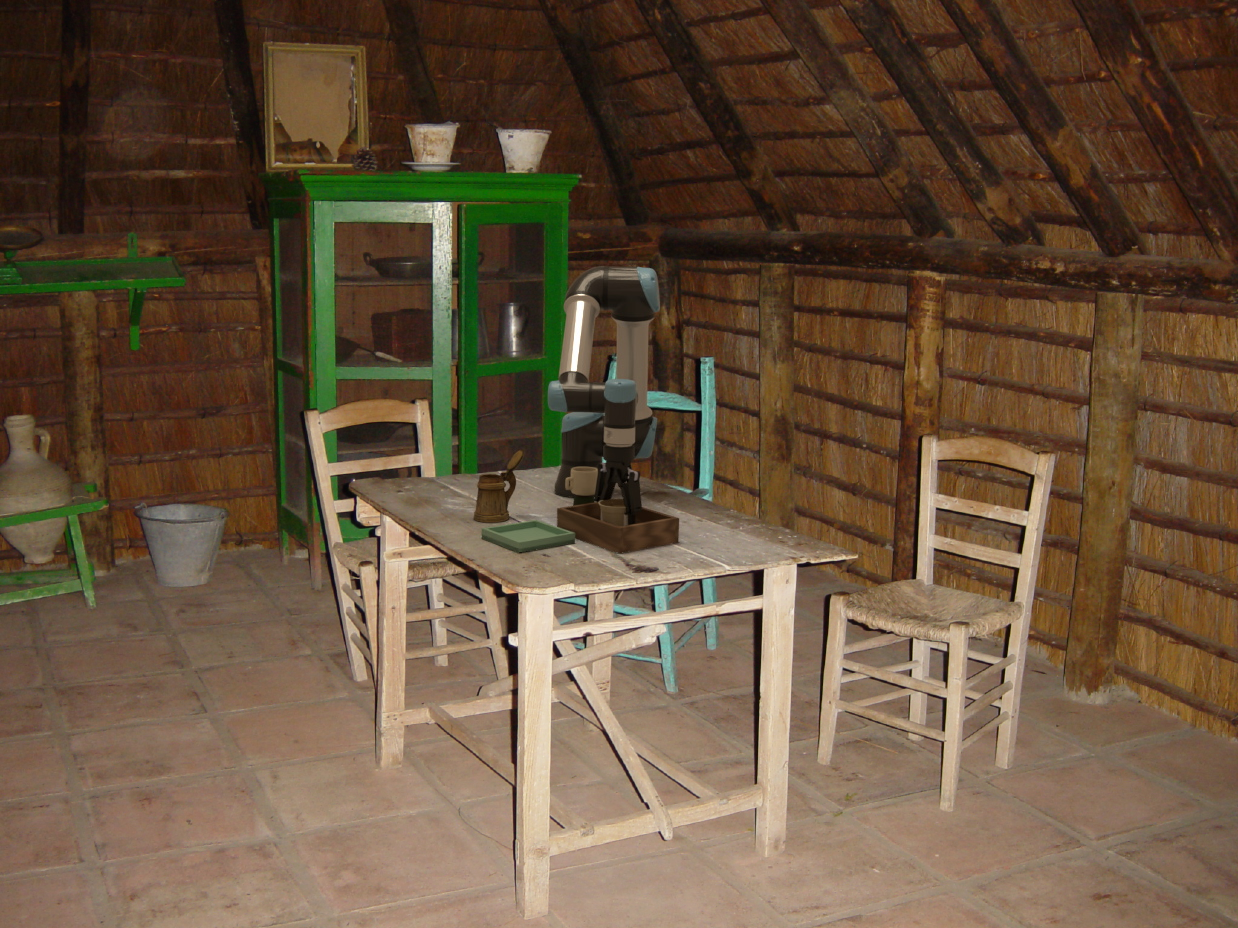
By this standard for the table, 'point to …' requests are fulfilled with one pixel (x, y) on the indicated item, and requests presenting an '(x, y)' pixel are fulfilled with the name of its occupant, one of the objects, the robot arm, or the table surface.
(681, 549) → the table surface
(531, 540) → the green tray
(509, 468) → the wooden mug
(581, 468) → the character mug
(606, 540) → the walnut crate
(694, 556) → the table surface
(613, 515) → the flower pot
